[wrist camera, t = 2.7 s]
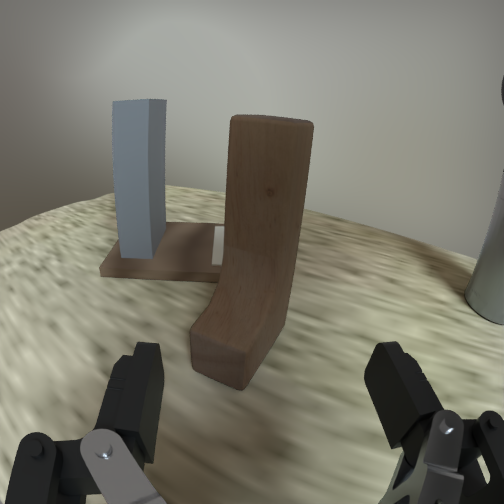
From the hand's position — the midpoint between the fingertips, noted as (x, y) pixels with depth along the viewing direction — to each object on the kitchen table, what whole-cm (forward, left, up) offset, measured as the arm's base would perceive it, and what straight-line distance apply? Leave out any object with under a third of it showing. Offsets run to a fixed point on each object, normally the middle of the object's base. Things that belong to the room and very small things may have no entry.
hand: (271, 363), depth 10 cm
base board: (+5, -28, -10) cm, 30 cm away
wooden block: (0, -11, -11) cm, 15 cm away
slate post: (+12, -28, -9) cm, 32 cm away
